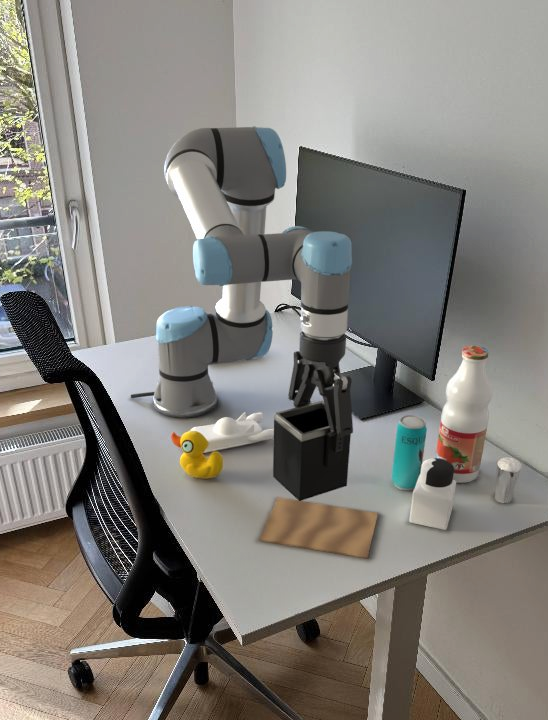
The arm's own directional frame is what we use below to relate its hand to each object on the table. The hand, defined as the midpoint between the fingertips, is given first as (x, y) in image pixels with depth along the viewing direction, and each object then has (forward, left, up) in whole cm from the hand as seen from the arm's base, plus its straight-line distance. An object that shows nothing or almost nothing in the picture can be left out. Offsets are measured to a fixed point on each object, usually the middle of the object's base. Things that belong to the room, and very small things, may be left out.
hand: (317, 452), depth 133 cm
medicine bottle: (+21, +10, -17) cm, 29 cm away
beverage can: (+15, +20, -17) cm, 30 cm away
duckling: (-27, +12, -17) cm, 34 cm away
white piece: (-26, +27, -17) cm, 41 cm away
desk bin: (-4, -5, +1) cm, 6 cm away
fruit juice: (+25, +28, -17) cm, 41 cm away
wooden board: (+1, +1, -17) cm, 17 cm away
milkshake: (+35, +20, -17) cm, 44 cm away
